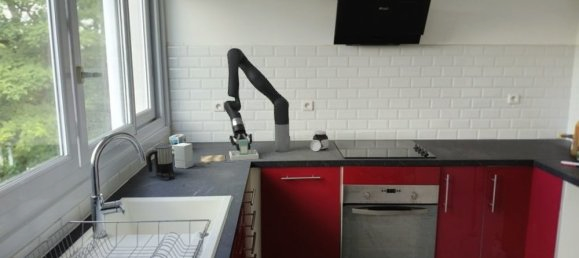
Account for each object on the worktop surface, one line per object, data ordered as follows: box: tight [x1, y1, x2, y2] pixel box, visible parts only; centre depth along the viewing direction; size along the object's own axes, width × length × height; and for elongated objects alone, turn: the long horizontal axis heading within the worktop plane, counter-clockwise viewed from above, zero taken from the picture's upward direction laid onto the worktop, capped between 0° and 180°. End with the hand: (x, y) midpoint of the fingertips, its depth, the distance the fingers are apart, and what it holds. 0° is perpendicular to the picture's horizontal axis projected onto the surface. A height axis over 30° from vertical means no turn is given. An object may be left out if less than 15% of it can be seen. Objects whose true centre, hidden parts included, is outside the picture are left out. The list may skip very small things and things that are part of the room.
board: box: [200, 154, 227, 165], centre depth 247 cm, size 14×14×1 cm
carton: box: [238, 139, 248, 156], centre depth 250 cm, size 5×5×10 cm
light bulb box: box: [168, 133, 187, 155], centre depth 269 cm, size 11×7×11 cm, turn 168°
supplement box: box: [174, 142, 195, 170], centre depth 232 cm, size 7×7×13 cm
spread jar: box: [309, 130, 330, 152], centre depth 267 cm, size 12×11×12 cm
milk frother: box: [145, 144, 175, 179], centre depth 214 cm, size 14×16×15 cm
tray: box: [228, 149, 260, 162], centre depth 250 cm, size 16×14×3 cm
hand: (244, 149), depth 248 cm, fingers closed on carton, 5 cm apart
